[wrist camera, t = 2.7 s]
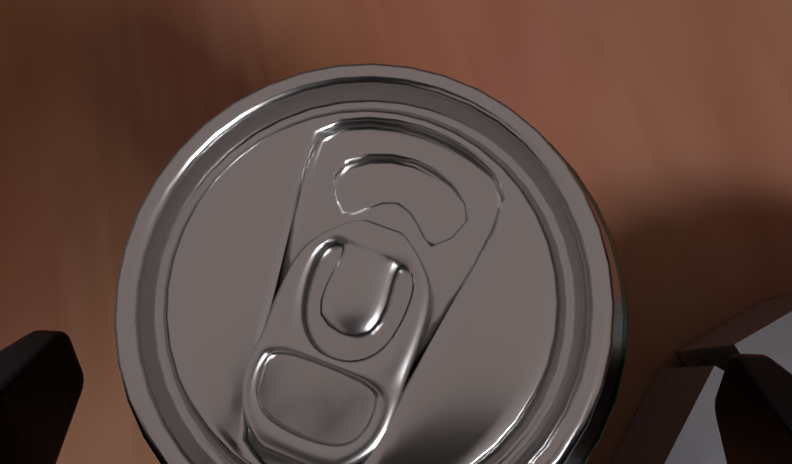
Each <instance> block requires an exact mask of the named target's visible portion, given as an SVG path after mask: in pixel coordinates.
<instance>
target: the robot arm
mask: <svg viewBox="0 0 792 464" xmlns="http://www.w3.org/2000/svg"><path fill="white" fill-rule="evenodd" d="M83 381H84V378H83V372H82V369H81V366H80V364H79V361H78V358H77V356H76V353H75V351H74V348H73V345H72V343H71V340H70V338H69V336H68V335H67V334H66V333H65V332H62V331H46V330H39V331H33V332H31V333H29V334H28V335H26V336H24V337H23V338H21V339H19V340H18V341H16V342H14V343H13V344H11V345H9V346H8V347H6V348H4V349H3V350H1V351H0V464H56V462H57V459H58V456H59V454H60V451H61V448H62V445H63V442H64V440H65V437H66V434H67V431H68V428H69V426H70V423H71V420H72V417H73V414H74V412H75V409H76V406H77V403H78V400H79V398H80V395H81V392H82V389H83ZM715 414H716V419H717V423H718V428H719V432H720V436H721V441H722V445H723V449H724V454H725V458H726V462H727V464H792V374H791V373H790V372H788V371H787V370H786V369H785V368H783V367H782V366H781V365H779V364H778V363H777V362H775V361H774V360H773V359H771V358H770V357H768V356H766V355H762V354H740V353H738V354H734V355H732V356H731V357H730V358H729V360H728V362H727V365H726V368H725V371H724V374H723V377H722V380H721V383H720V386H719V389H718V391H717V394H716V398H715Z"/></svg>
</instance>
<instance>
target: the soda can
mask: <svg viewBox="0 0 792 464" xmlns="http://www.w3.org/2000/svg"><path fill="white" fill-rule="evenodd" d="M114 326H115V337H116V348H117V358H118V365H119V369H120V373H121V376H122V380H123V384H124V388H125V392H126V396H127V400H128V402H129V405H130V407H131V409H132V412H133V414H134V416H135V418H136V421H137V423H138V425H139V428H140V430H141V432H142V435H143V437H144V438H145V440H146V442H147V443H148V445H149V446H150V448H151V449H152V451H153V452H154V454H155V455H156V457H157V459H158V460H159V462H160V463H161V464H586V462H587V461H588V459H589V457H590V456H591V454H592V452H593V451H594V449H595V447H596V446H597V444H598V442H599V441H600V439H601V437H602V434H603V432H604V429H605V427H606V424H607V422H608V419H609V417H610V414H611V412H612V409H613V407H614V404H615V402H616V399H617V394H618V390H619V385H620V381H621V376H622V372H623V367H624V363H625V353H626V336H627V309H626V299H625V290H624V280H623V275H622V272H621V268H620V264H619V260H618V257H617V253H616V249H615V245H614V242H613V239H612V237H611V234H610V232H609V230H608V228H607V225H606V223H605V221H604V219H603V216H602V214H601V212H600V210H599V207H598V205H597V203H596V202H595V200H594V199H593V197H592V196H591V194H590V193H589V191H588V189H587V188H586V186H585V185H584V183H583V182H582V180H581V179H580V177H579V175H578V174H577V172H576V171H575V170H574V169H573V168H572V167H571V166H570V164H569V163H568V162H567V161H566V160H565V159H564V158H563V157H562V156H561V154H560V153H559V152H558V151H557V150H556V149H555V148H554V147H553V145H552V144H551V143H549V142H548V141H547V140H546V139H545V138H544V137H543V136H542V135H541V134H540V132H539V131H537V130H536V129H535V128H534V127H533V126H531V125H530V124H529V123H528V122H527V121H525V120H524V119H523V118H522V117H520V116H519V115H518V114H517V113H516V112H514V111H513V110H512V109H511V108H509V107H508V106H506V105H504V104H503V103H501V102H499V101H498V100H496V99H494V98H493V97H491V96H489V95H488V94H486V93H484V92H482V91H481V90H479V89H477V88H475V87H472V86H470V85H467V84H465V83H462V82H460V81H457V80H455V79H452V78H450V77H448V76H445V75H441V74H437V73H433V72H429V71H425V70H421V69H417V68H412V67H407V66H396V65H385V64H374V63H371V64H353V65H336V66H331V67H327V68H322V69H317V70H312V71H307V72H302V73H299V74H296V75H293V76H291V77H288V78H285V79H282V80H279V81H277V82H274V83H271V84H268V85H266V86H264V87H262V88H260V89H258V90H257V91H255V92H253V93H251V94H249V95H247V96H245V97H243V98H242V99H240V100H238V101H236V102H234V103H233V104H231V105H230V106H229V107H227V108H226V109H225V110H223V111H222V112H221V113H219V114H218V115H216V116H215V117H214V118H212V119H211V120H210V121H208V122H207V123H206V124H204V125H203V126H202V127H201V128H200V129H199V130H198V131H197V132H196V133H195V134H194V135H193V136H192V137H191V138H190V139H189V140H188V141H187V142H186V143H185V144H184V145H183V146H182V147H181V148H180V149H179V150H178V151H177V152H176V154H175V155H174V156H173V158H172V159H171V160H170V162H169V163H168V164H167V166H166V167H165V168H164V170H163V171H162V172H161V174H160V175H159V176H158V177H157V179H156V180H155V182H154V184H153V186H152V188H151V189H150V191H149V193H148V195H147V197H146V198H145V200H144V202H143V204H142V206H141V207H140V209H139V211H138V213H137V216H136V218H135V221H134V224H133V226H132V229H131V232H130V234H129V237H128V240H127V242H126V245H125V248H124V252H123V257H122V262H121V266H120V271H119V276H118V280H117V285H116V302H115V319H114Z"/></svg>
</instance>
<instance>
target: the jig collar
mask: <svg viewBox="0 0 792 464" xmlns="http://www.w3.org/2000/svg"><path fill="white" fill-rule="evenodd" d="M675 352H676V353H677V355H678V356H679V358H680V359H681V361H682V362H683V364H684V366H685V367H674V368H659V370H658V372H657V374H656V376H655V377H654V379H653V381H652V383H651V385H650V387H649V389H648V391H647V393H646V395H645V397H644V398H643V400H642V402H641V404H640V406H639V408H638V410H637V412H636V414H635V416H634V418H633V420H632V421H631V423H630V425H629V427H628V429H627V431H626V433H625V435H624V437H623V439H622V441H621V442H620V444H619V446H618V448H617V450H616V452H615V454H614V456H613V458H612V460H611V461H612V462H613V463H615V464H727V462H726V458H725V454H724V449H723V445H722V441H721V436H720V432H719V428H718V423H717V419H716V414H715V398H716V394H717V391H718V389H719V386H720V383H721V380H722V377H723V374H724V371H725V368H726V365H727V362H728V360H729V358H730V357H731V356H732V355H734V354H738V353H740V354H762V355H766V356H768V357H770V358H771V359H773V360H774V361H775V362H777V363H778V364H779V365H781V366H782V367H783V368H785V369H786V370H787V371H788V372H790V373H791V374H792V294H788V295H785V296H781V297H777V298H773V299H769V300H764V301H762V302H760V303H758V304H757V305H755V306H753V307H751V308H750V309H748V310H746V311H745V312H743V313H741V314H739V315H738V316H736V317H734V318H732V319H731V320H729V321H727V322H726V323H724V324H722V325H720V326H719V327H717V328H715V329H713V330H712V331H710V332H708V333H706V334H705V335H703V336H701V337H700V338H698V339H696V340H694V341H693V342H691V343H689V344H687V345H686V346H684V347H682V348H680V349H679V350H677V351H675Z"/></svg>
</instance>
